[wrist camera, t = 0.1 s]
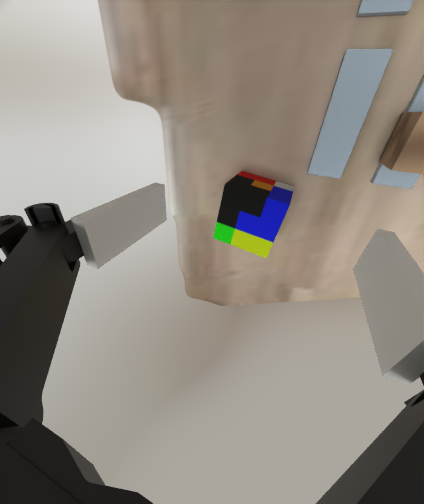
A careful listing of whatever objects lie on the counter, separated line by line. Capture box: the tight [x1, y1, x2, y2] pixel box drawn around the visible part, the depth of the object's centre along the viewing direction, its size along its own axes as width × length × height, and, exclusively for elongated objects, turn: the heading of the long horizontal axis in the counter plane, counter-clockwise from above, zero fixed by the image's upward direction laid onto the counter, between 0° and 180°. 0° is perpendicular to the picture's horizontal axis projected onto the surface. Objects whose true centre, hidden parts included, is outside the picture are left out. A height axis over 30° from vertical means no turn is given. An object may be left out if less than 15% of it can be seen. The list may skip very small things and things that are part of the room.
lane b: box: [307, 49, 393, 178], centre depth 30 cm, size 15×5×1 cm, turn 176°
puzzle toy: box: [213, 171, 294, 258], centre depth 37 cm, size 10×10×10 cm
